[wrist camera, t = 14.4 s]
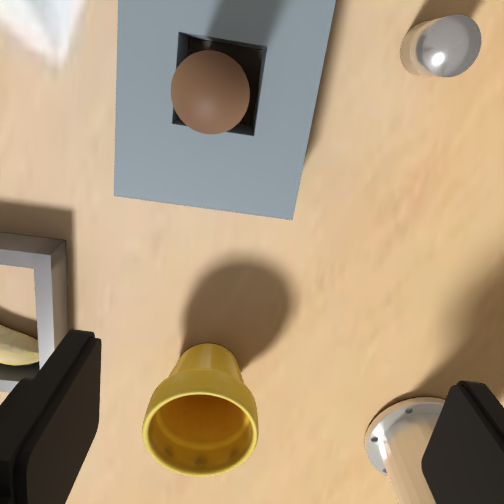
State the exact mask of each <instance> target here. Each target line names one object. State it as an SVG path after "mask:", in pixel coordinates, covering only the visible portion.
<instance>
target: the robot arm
mask: <svg viewBox="0 0 504 504" xmlns="http://www.w3.org/2000/svg"><path fill="white" fill-rule="evenodd" d="M100 373H101V339H98V338H95V335H94V333H93V332H89V331H81V330H74V329H71V330H69V331H68V332H67V334H66V335H65V337H64V338H63V339H62V341H61V342H60V343H59V345H58V346H57V347H56V349H55V350H54V351H53V353H52V354H51V356H50V357H49V358H48V360H47V361H46V362H45V364H44V365H43V366H42V368H41V369H40V371H39V372H38V373H37V375H36V376H35V377H34V378H26V377H25V378H23V379H21V380H20V381H19V382H18V383H17V385H16V386H15V387H14V388H13V390H12V391H11V392H10V394H9V395H8V396H7V397H6V399H5V400H4V401H3V403H2V404H1V405H0V504H65V503H66V500H67V498H68V496H69V494H70V491H71V489H72V487H73V484H74V482H75V480H76V478H77V475H78V473H79V471H80V469H81V466H82V464H83V462H84V460H85V457H86V455H87V453H88V451H89V448H90V446H91V444H92V442H93V439H94V437H95V435H96V432H97V428H98V423H99V404H100ZM364 443H365V450H366V453H367V456H368V459H369V461H370V463H371V464H372V465H373V467H374V468H375V469H376V470H378V471H379V472H380V473H382V474H384V475H386V476H388V477H389V480H390V482H391V485H392V488H393V491H394V493H395V496H396V499H397V502H398V504H504V408H503V406H502V405H501V404H500V402H499V401H498V400H497V399H496V397H495V396H494V395H493V394H492V392H491V391H490V390H489V388H488V387H487V386H486V385H485V384H483V383H477V382H470V381H459V382H458V383H457V385H453V386H452V387H451V388H450V391H449V393H448V395H447V398H446V400H443V399H440V398H433V397H418V398H412V399H407V400H404V401H401V402H398V403H396V404H394V405H392V406H390V407H388V408H387V409H386V410H384V411H383V412H381V413H380V414H379V415H378V416H377V417H376V418H375V419H374V420H373V421H372V423H371V424H370V426H369V427H368V430H367V432H366V435H365V442H364Z"/></svg>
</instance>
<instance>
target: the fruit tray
mask: <svg viewBox="0 0 504 504" xmlns="http://www.w3.org/2000/svg"><path fill="white" fill-rule="evenodd" d="M0 264H1V265H9V266H18V267H26V268H34V279H35V296H36V313H37V330H38V348H39V361H38V362H35V363H33V364H30V365H20V366H12V365H7V364H3V363H0V391H2V392H11V391H12V390H13V388H14V387H15V386H16V385H17V383H18V382H19V381H20V380H21V379H23V378H25V377H26V378H34V377H35V376H36V375H37V373H38V372H39V371H40V369H41V368H42V366H43V365H44V364H45V362H46V361H47V360H48V358H49V357H50V356H51V354H52V353H53V351H54V350H55V349H56V347H57V346H58V345H59V343H60V342H61V341H62V339H63V338H64V337H65V335H66V334H67V332H68V311H67V271H66V240H59V239H51V238H43V237H35V236H27V235H19V234H11V233H4V232H0Z"/></svg>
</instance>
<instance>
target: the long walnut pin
mask: <svg viewBox="0 0 504 504" xmlns="http://www.w3.org/2000/svg"><path fill="white" fill-rule="evenodd" d="M249 98H250V89H249V83H248V80H247V77H246V75H245V73H244V71H243V69H242V68H241V66H240V65H239V64H238V63H237V62H236V61H235V60H234V59H232V58H231V57H230V56H228V55H226V54H224V53H221V52H218V51H212V50H205V51H199V52H196V53H194V54H192V55H190V56H188V57H187V58H186V59H184V60H183V61H182V62H181V63H180V65H179V66H178V67H177V69H176V71H175V73H174V75H173V78H172V82H171V100H172V104H173V107H174V109H175V111H176V113H177V115H178V116H179V118H180V119H181V120H182V121H183V122H184V123H185V124H186V125H187V126H188V127H190V128H191V129H193V130H195V131H197V132H200V133H203V134H211V135H212V134H220V133H223V132H226V131H228V130H230V129H232V128H233V127H235V126H236V125H237V124H238V123H239V122H240V121H241V119H242V118H243V116H244V115H245V113H246V111H247V108H248V104H249Z"/></svg>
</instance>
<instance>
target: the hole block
mask: <svg viewBox="0 0 504 504" xmlns="http://www.w3.org/2000/svg"><path fill="white" fill-rule="evenodd" d="M335 3H336V0H118V36H117V81H116V125H115V170H114V196H118V197H125V198H132V199H140V200H147V201H155V202H162V203H169V204H177V205H184V206H191V207H199V208H206V209H213V210H221V211H228V212H235V213H243V214H250V215H258V216H265V217H272V218H280V219H287V220H293V215H294V210H295V205H296V200H297V195H298V190H299V185H300V180H301V175H302V170H303V164H304V159H305V154H306V149H307V144H308V139H309V134H310V129H311V124H312V119H313V114H314V109H315V104H316V99H317V94H318V89H319V84H320V79H321V74H322V68H323V63H324V58H325V53H326V48H327V43H328V38H329V33H330V28H331V23H332V18H333V13H334V8H335ZM189 37H191V38H196V39H202V40H208V41H214V42H220V43H226V44H232V45H238V46H244V47H250V48H256V49H262V50H263V55H262V62H261V69H260V76H259V83H258V90H257V96H256V103H255V110H254V117H253V124H252V126H250V125H244V124H237V125H236V126H235V127H233V128H232V129H230V130H228V131H226V132H223V133H220V134H212V135H211V134H203V133H200V132H197V131H195V130H193V129H191V128H190V127H188V126H187V125H186V124H185V123H184V122H183V121H182V120H181V119H180V118H179V116H178V115H177V113H176V111H175V109H174V107H173V104H172V100H171V82H172V78H173V75H174V73H175V71H176V69H177V67H178V66H179V65H180V63H181V62H182V61H183V60H184V59H186V58H187V54H188V42H189Z"/></svg>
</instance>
